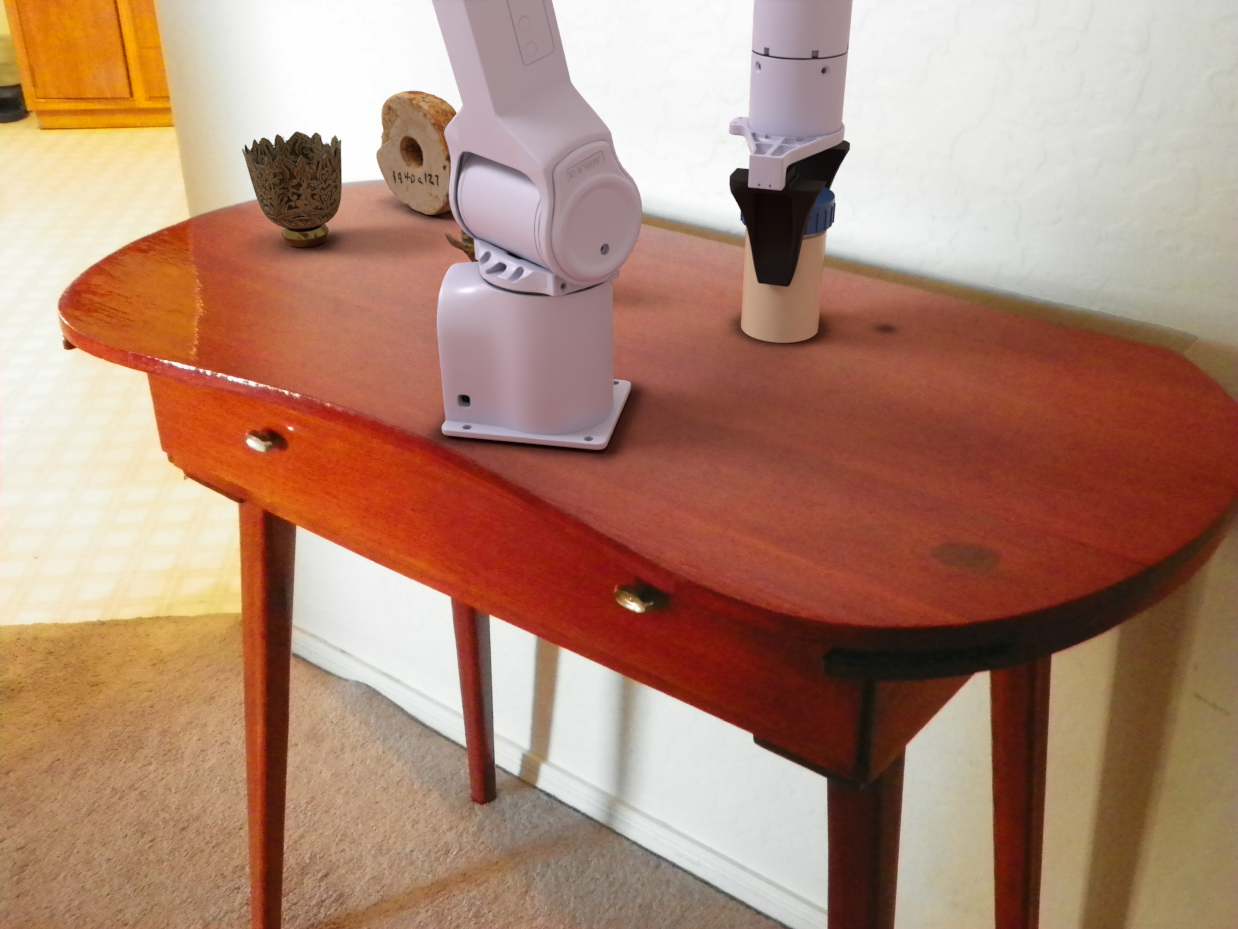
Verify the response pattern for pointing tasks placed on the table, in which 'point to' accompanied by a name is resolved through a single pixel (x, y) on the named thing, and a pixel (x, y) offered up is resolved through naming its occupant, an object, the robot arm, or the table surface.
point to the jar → (785, 297)
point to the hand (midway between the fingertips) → (785, 266)
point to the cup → (297, 184)
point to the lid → (819, 213)
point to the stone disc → (416, 150)
